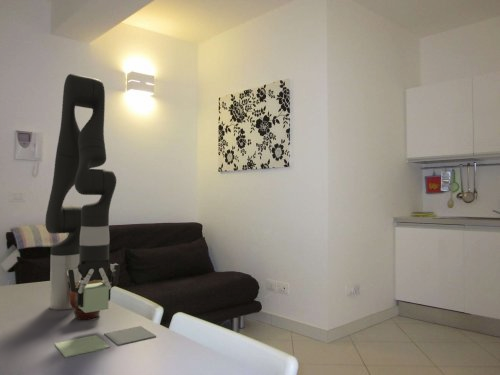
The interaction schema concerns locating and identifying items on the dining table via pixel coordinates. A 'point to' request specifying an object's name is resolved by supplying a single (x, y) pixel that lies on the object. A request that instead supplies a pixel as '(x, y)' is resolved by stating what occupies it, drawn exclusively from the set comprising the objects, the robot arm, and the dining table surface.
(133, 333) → the grey pad
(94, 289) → the pale green cube
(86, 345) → the sage pad
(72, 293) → the mug
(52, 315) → the dining table surface
